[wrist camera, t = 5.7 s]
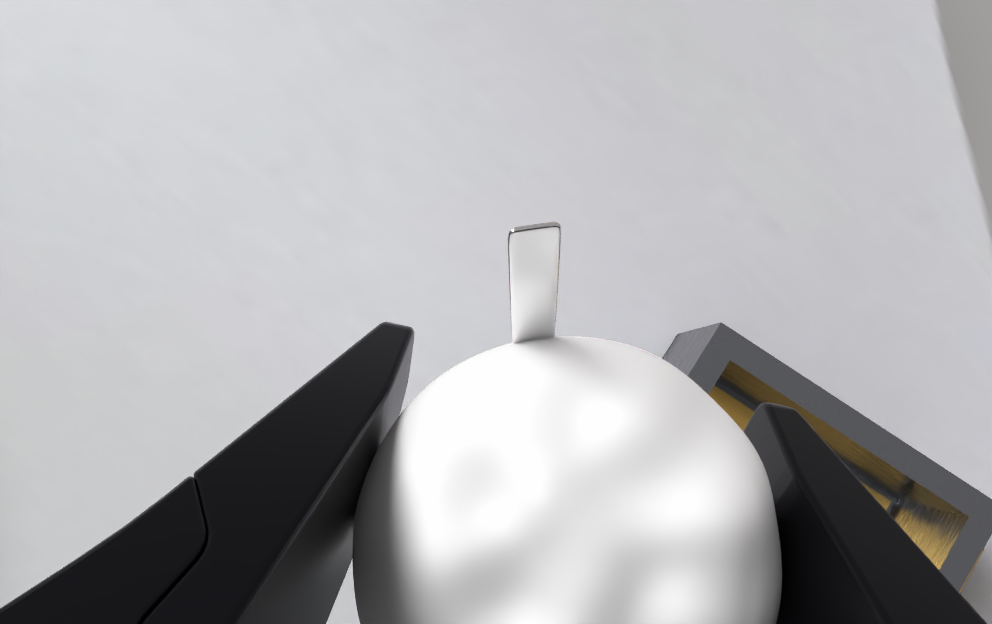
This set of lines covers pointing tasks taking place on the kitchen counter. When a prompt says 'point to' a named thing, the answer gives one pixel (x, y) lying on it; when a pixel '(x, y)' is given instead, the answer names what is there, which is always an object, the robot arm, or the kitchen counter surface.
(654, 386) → the milkshake
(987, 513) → the rack
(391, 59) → the kitchen counter surface
